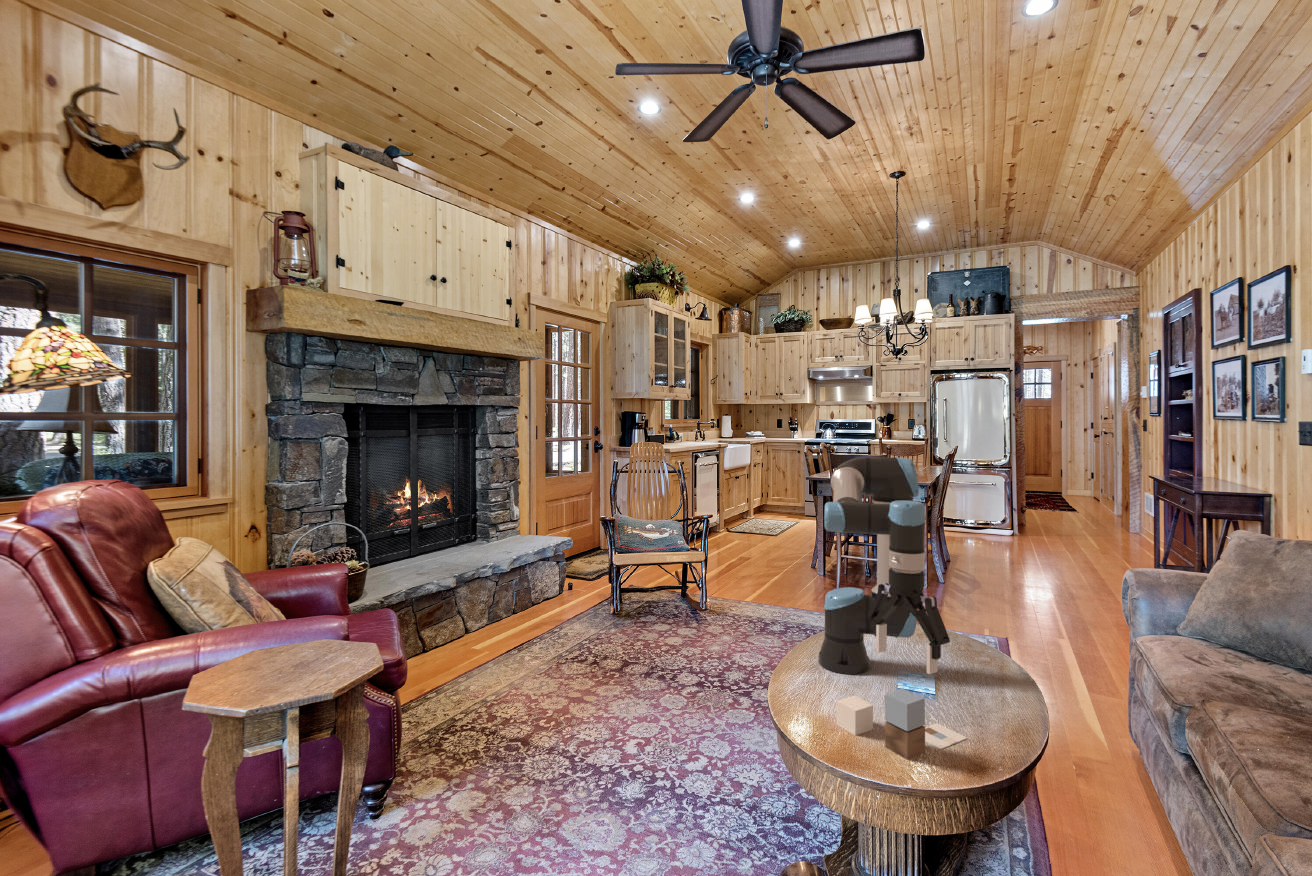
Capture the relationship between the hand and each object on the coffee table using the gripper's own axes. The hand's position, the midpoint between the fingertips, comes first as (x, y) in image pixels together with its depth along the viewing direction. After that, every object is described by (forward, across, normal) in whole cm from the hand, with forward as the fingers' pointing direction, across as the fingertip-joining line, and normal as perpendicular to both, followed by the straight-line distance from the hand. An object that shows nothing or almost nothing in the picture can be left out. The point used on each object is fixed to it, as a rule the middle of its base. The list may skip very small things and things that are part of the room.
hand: (905, 661), depth 136 cm
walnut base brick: (+20, 0, 0) cm, 20 cm away
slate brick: (+14, 0, 0) cm, 14 cm away
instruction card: (+20, 0, +12) cm, 24 cm away
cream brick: (+20, -13, -2) cm, 24 cm away
